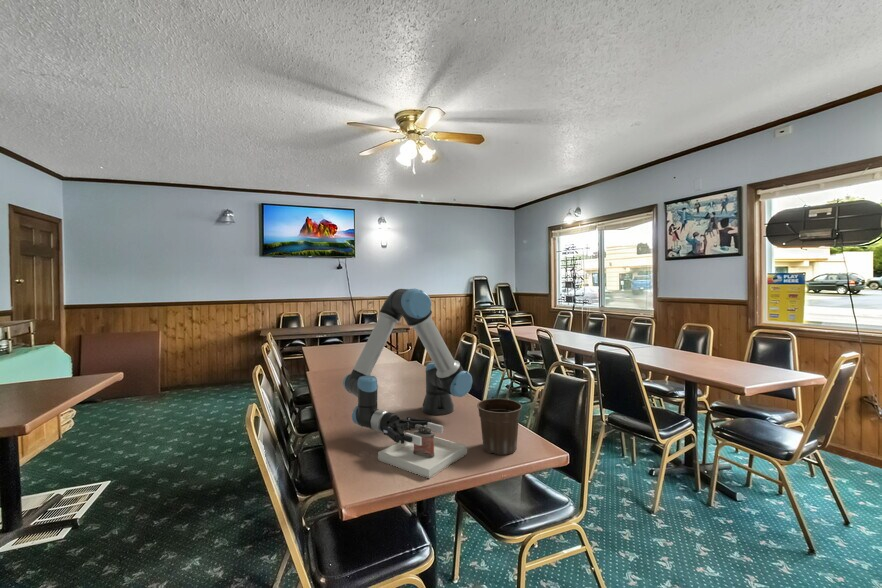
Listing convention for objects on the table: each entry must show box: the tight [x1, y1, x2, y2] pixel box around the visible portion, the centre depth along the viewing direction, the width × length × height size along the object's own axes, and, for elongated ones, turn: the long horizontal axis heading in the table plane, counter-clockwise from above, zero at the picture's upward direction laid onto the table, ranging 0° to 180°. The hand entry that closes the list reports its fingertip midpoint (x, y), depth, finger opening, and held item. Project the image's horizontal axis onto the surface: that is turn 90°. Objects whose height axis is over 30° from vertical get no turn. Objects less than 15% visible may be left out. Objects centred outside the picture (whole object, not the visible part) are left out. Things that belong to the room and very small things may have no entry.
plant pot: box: [476, 398, 523, 456], centre depth 141 cm, size 16×16×16 cm
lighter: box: [412, 424, 435, 457], centre depth 135 cm, size 8×3×10 cm, turn 62°
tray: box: [377, 435, 468, 479], centre depth 134 cm, size 22×22×3 cm
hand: (432, 435), depth 132 cm, fingers open, 11 cm apart
